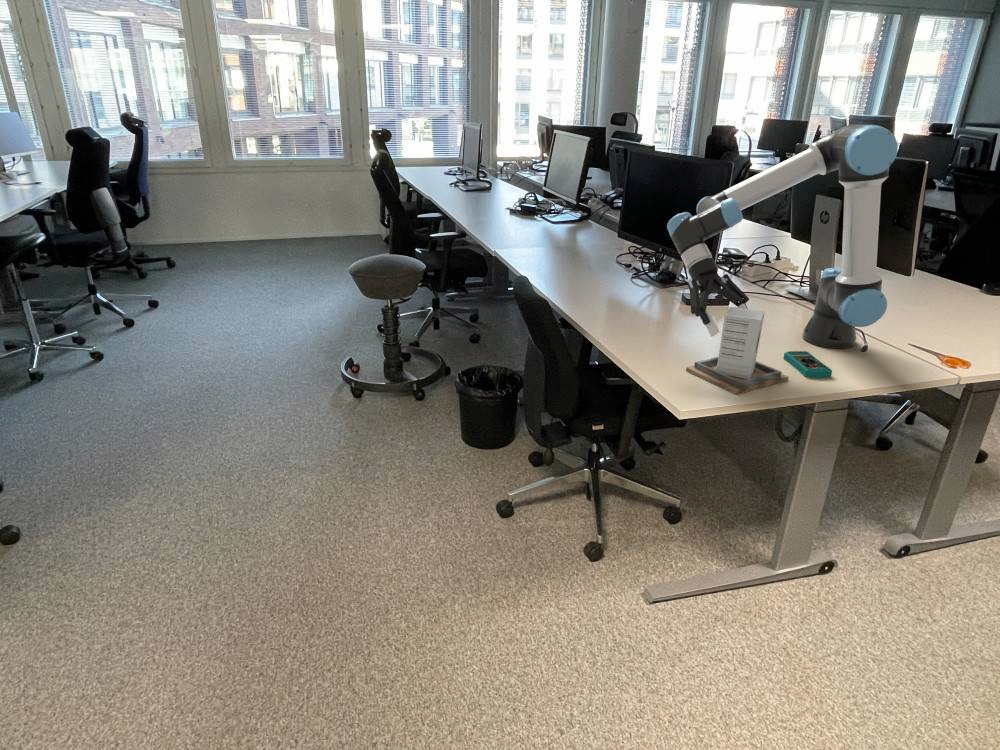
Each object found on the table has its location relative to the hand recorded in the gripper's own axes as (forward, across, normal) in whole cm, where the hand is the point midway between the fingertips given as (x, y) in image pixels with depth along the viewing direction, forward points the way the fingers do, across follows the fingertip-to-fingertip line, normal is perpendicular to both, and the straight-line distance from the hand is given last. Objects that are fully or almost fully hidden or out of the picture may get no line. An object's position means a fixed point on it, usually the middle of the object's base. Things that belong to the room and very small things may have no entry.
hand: (733, 330), depth 172 cm
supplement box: (+10, 0, -6) cm, 12 cm away
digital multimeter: (+15, -23, -3) cm, 27 cm away
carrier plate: (+11, 0, -6) cm, 13 cm away
